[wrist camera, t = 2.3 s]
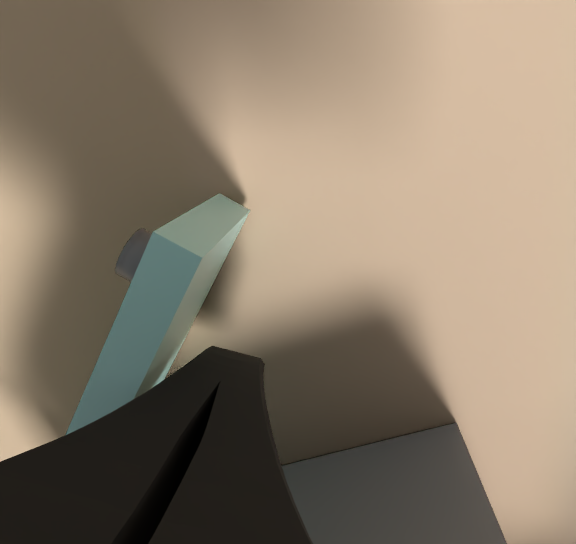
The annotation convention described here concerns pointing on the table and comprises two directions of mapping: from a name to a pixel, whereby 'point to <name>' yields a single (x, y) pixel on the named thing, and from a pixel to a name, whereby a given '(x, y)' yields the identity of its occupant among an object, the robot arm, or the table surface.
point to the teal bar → (159, 302)
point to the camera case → (395, 493)
